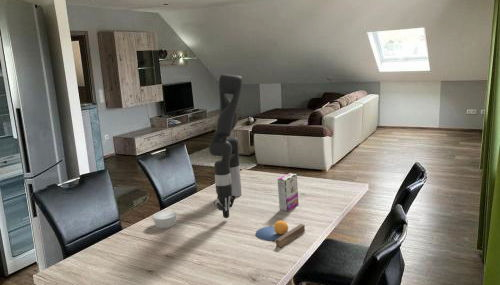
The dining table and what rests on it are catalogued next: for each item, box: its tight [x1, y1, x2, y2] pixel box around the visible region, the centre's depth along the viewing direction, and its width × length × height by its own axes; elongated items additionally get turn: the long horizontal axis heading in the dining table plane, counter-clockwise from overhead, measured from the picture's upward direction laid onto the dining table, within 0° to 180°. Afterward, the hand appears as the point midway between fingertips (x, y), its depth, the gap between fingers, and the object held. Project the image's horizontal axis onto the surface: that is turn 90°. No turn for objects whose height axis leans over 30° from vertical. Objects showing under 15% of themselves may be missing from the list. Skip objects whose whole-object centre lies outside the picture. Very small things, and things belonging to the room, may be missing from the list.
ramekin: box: [152, 209, 177, 229], centre depth 186 cm, size 11×11×5 cm
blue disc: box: [255, 225, 289, 242], centre depth 170 cm, size 14×14×1 cm
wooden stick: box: [275, 223, 306, 249], centre depth 163 cm, size 2×18×3 cm, turn 140°
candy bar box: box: [277, 172, 300, 212], centre depth 197 cm, size 11×5×16 cm, turn 143°
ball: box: [273, 220, 289, 235], centre depth 167 cm, size 6×6×6 cm
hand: (226, 217), depth 187 cm, fingers closed
